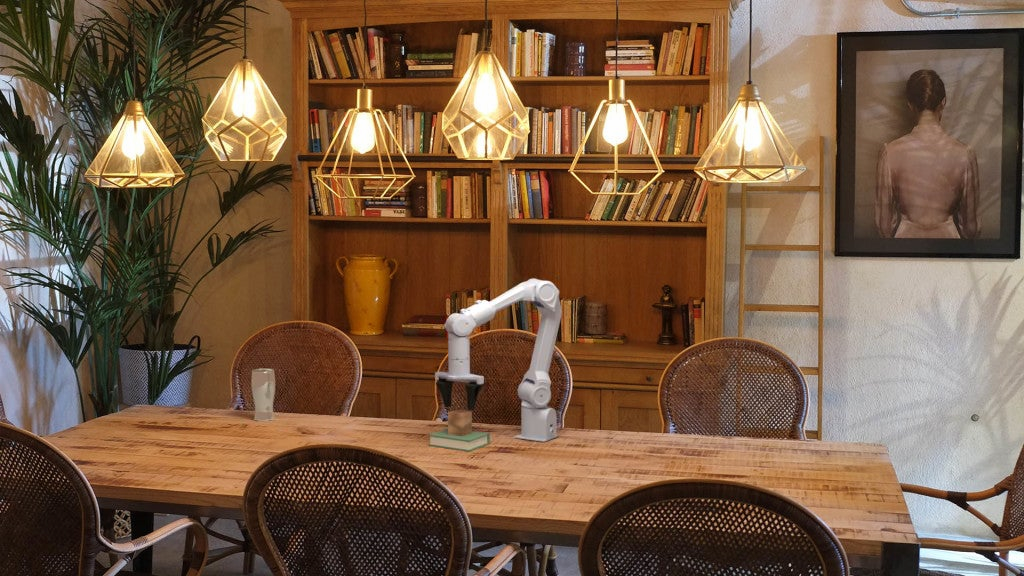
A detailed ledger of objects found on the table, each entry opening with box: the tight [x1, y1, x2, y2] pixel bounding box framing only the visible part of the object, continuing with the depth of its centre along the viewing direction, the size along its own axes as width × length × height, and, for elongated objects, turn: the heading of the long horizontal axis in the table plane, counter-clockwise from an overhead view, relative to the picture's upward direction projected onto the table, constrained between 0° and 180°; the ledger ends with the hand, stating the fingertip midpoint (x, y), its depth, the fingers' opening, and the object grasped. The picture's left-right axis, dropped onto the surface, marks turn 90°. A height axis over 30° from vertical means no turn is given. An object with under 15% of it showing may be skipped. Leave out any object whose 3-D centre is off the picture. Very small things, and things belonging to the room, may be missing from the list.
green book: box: [428, 428, 491, 453], centre depth 284 cm, size 13×10×3 cm
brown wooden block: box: [447, 409, 473, 436], centre depth 284 cm, size 5×5×6 cm
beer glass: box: [251, 367, 276, 422], centre depth 316 cm, size 7×7×15 cm
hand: (459, 408), depth 283 cm, fingers open, 7 cm apart
